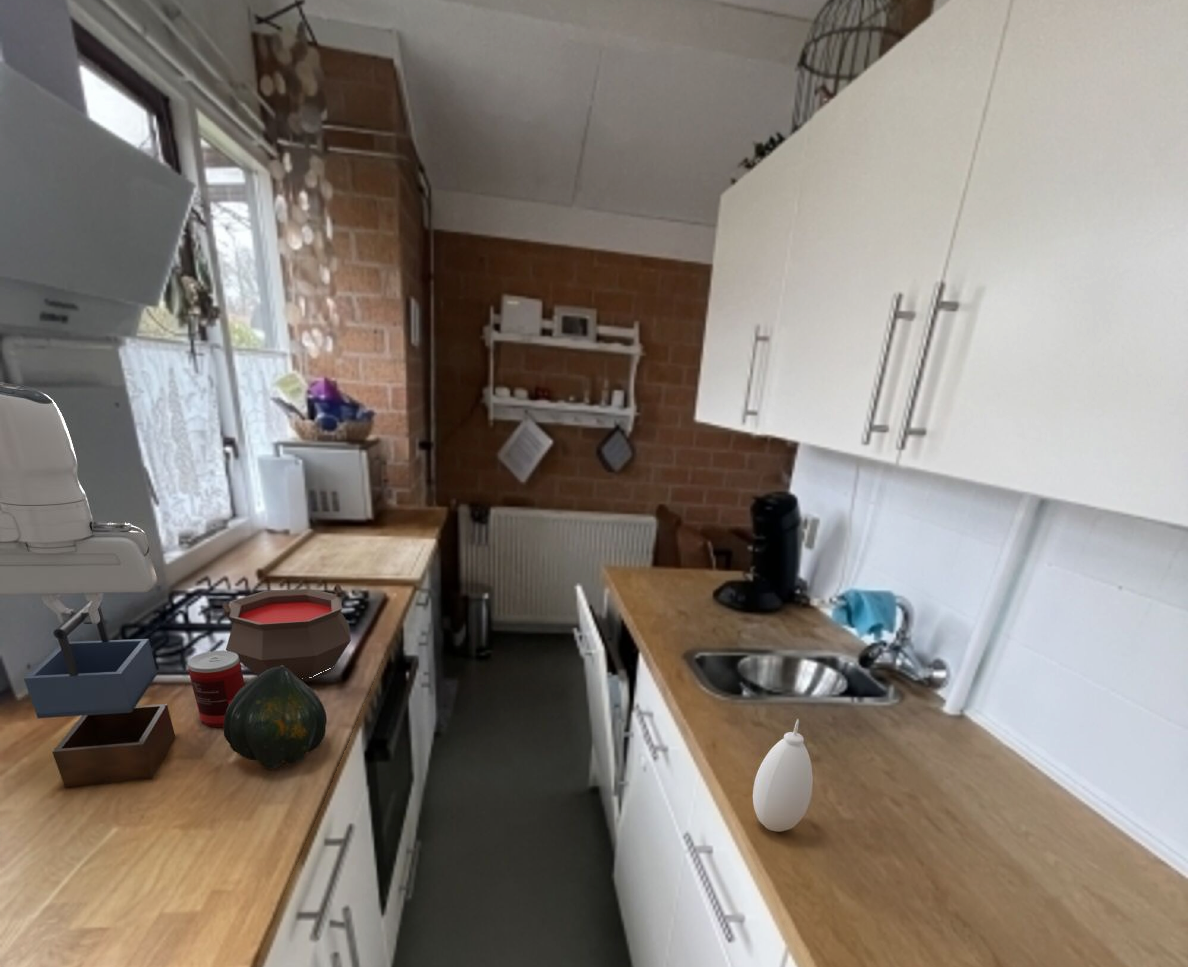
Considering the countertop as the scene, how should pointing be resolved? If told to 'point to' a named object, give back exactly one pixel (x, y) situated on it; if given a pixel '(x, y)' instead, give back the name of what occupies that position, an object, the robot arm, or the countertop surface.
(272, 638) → the brown soup pot
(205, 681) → the canned food
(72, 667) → the top basket
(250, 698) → the squash
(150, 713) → the bottom basket
